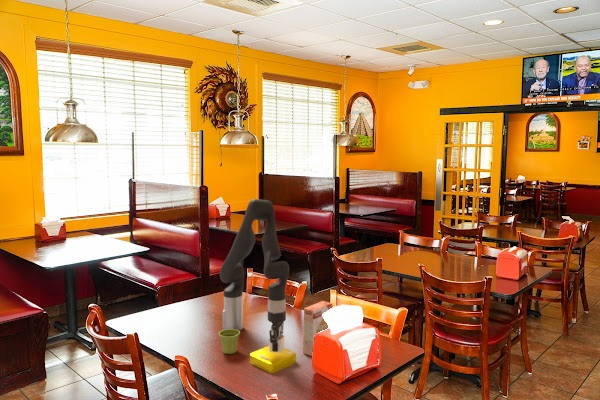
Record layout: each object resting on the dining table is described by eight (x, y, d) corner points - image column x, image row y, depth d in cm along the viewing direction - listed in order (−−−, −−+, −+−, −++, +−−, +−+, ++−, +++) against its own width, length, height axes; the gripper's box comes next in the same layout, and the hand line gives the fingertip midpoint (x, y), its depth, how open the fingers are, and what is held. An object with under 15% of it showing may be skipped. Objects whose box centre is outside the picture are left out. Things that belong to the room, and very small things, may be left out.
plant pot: (215, 350, 217) (214, 331, 216) (233, 345, 223) (233, 327, 222) (225, 357, 210) (225, 338, 209) (244, 352, 215) (243, 333, 215)
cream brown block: (269, 351, 201) (269, 338, 200) (272, 346, 206) (272, 333, 205) (281, 352, 200) (281, 339, 199) (284, 348, 204) (284, 334, 204)
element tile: (247, 363, 206) (247, 352, 205) (273, 352, 216) (273, 342, 216) (272, 375, 195) (271, 363, 195) (297, 362, 206) (297, 352, 206)
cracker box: (313, 357, 210) (313, 310, 208) (302, 353, 214) (302, 307, 212) (332, 347, 221) (332, 302, 219) (321, 343, 225) (322, 300, 223)
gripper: (272, 302, 208) (272, 341, 210) (262, 314, 195) (263, 354, 196) (289, 304, 207) (289, 342, 209) (280, 315, 193) (281, 356, 195)
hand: (276, 348), depth 203 cm, fingers closed on cream brown block, 5 cm apart
